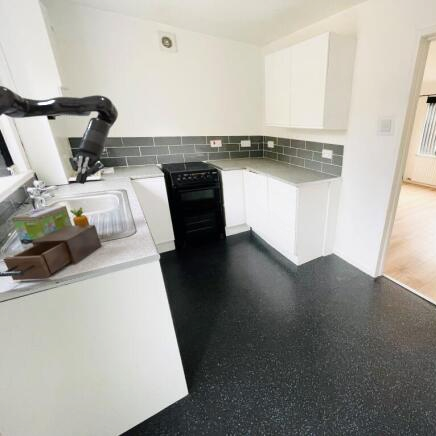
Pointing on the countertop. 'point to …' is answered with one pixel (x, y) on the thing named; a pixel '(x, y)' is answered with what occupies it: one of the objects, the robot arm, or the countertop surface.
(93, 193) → the countertop surface
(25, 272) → the drawer
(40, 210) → the tea box
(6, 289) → the countertop surface
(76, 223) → the carrot
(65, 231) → the cabinet
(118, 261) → the countertop surface
